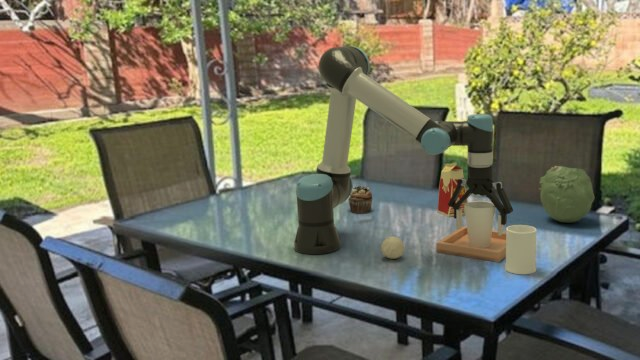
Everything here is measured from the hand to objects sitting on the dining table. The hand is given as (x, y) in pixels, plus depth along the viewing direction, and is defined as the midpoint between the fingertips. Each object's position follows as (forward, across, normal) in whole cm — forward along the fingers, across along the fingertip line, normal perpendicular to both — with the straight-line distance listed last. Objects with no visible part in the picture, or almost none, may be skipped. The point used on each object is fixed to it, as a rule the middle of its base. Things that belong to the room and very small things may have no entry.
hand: (479, 231), depth 197 cm
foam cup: (+4, 0, 0) cm, 4 cm away
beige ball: (+6, +19, +22) cm, 29 cm away
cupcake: (+6, +58, -21) cm, 62 cm away
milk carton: (+6, +25, -34) cm, 42 cm away
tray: (+5, 0, 0) cm, 5 cm away
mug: (+6, -18, +11) cm, 21 cm away
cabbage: (+5, -15, -40) cm, 43 cm away
